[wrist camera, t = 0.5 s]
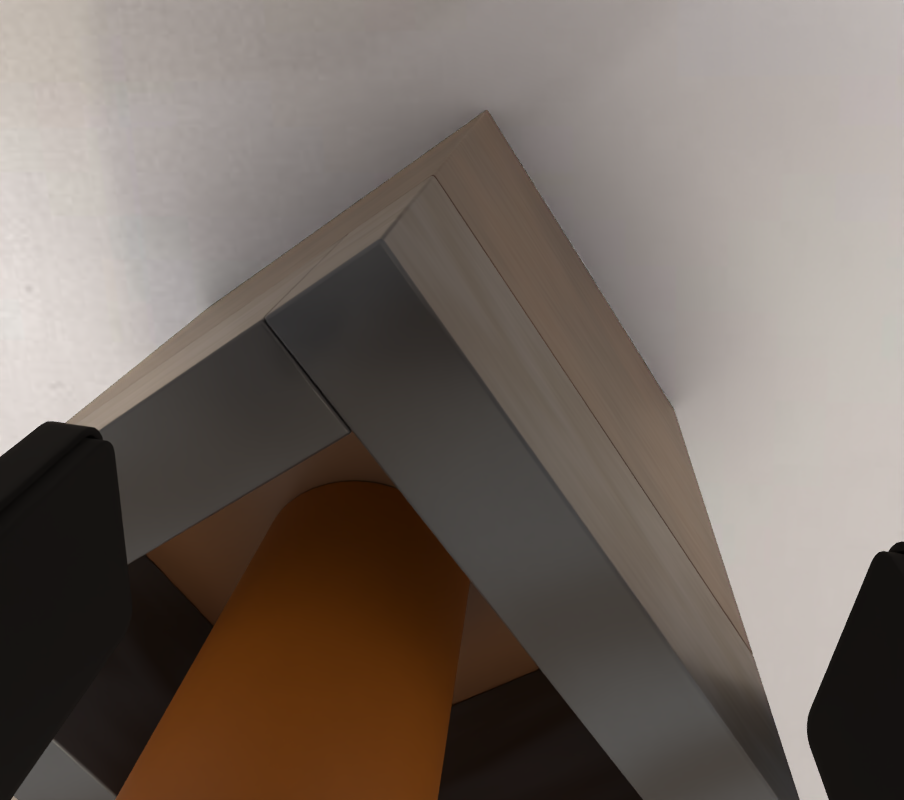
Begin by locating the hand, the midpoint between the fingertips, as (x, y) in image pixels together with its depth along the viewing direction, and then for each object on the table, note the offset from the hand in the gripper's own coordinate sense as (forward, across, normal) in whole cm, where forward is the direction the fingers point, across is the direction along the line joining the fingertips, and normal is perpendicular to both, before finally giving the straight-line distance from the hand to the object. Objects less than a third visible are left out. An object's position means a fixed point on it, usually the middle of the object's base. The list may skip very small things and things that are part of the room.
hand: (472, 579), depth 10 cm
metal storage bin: (+26, +3, +8) cm, 27 cm away
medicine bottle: (+10, +3, +8) cm, 13 cm away
